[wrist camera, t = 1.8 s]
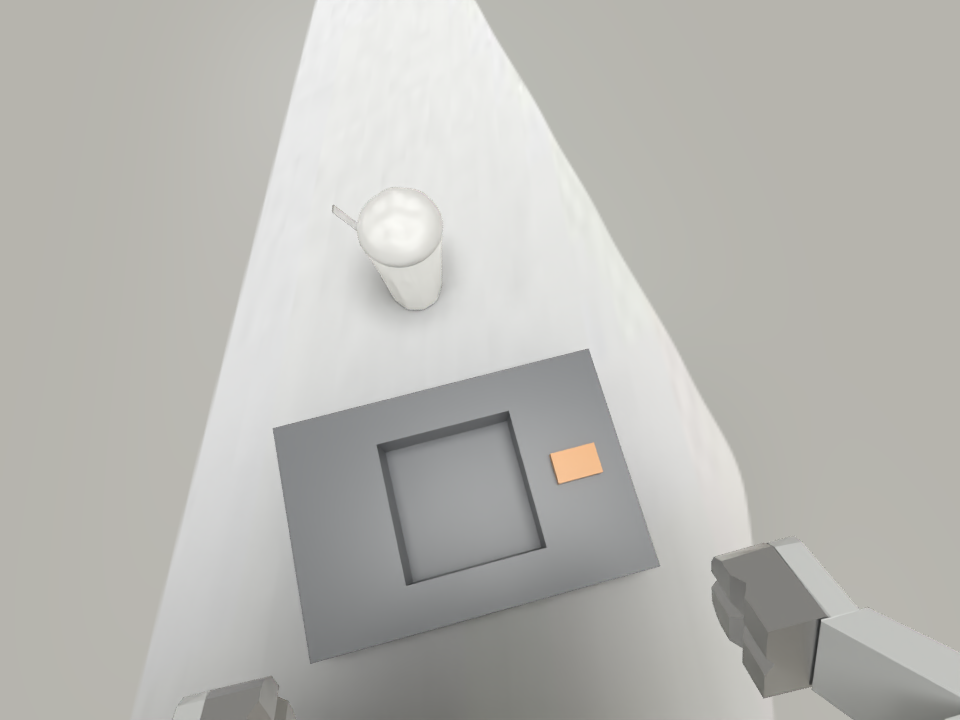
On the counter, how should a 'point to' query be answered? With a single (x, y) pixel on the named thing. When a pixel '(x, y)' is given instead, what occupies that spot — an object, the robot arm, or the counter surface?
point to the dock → (457, 504)
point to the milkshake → (403, 243)
